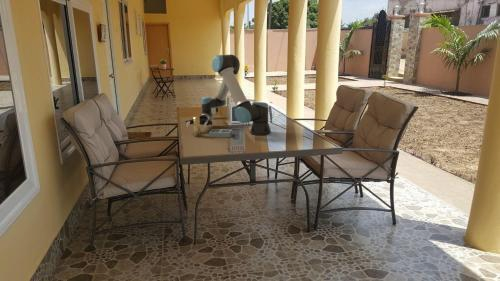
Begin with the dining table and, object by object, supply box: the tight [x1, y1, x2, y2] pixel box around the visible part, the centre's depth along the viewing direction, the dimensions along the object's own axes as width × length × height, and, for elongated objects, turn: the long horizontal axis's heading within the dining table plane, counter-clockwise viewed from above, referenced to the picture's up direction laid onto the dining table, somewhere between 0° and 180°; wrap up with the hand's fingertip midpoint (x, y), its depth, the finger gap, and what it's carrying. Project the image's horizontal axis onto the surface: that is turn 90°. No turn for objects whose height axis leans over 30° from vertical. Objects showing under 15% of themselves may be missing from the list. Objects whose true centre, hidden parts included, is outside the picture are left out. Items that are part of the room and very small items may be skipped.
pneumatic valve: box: [211, 107, 219, 120], centre depth 328 cm, size 6×12×12 cm, turn 101°
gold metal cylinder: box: [192, 116, 201, 138], centre depth 268 cm, size 4×4×14 cm
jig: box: [208, 128, 233, 138], centre depth 268 cm, size 15×10×4 cm, turn 82°
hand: (195, 125), depth 265 cm, fingers open, 13 cm apart
